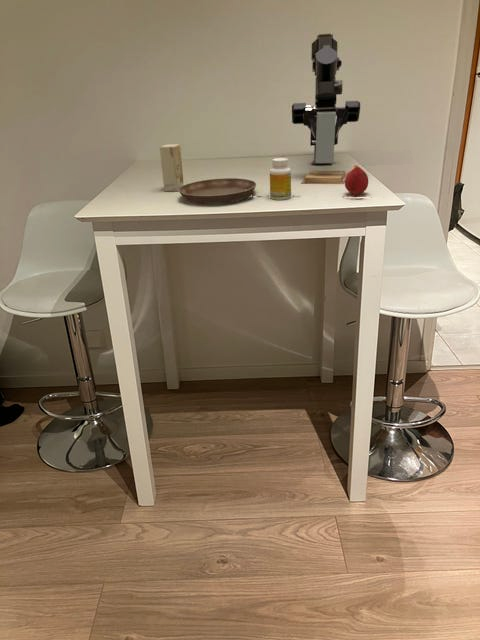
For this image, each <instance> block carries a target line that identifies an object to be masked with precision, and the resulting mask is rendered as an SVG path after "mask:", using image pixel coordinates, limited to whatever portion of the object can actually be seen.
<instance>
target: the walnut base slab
mask: <svg viewBox="0 0 480 640" xmlns="http://www.w3.org/2000/svg"><path fill="white" fill-rule="evenodd" d="M300 185H345V180H342V182H341V183H305V178H304V179H303V180H302V181H301V182H300Z"/></svg>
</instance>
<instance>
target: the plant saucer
mask: <svg viewBox="0 0 480 640" xmlns="http://www.w3.org/2000/svg"><path fill="white" fill-rule="evenodd" d="M256 187H257V182H255V181H254V180H250V179H245V178H233V177H232V178H231V177H230V178H229V177H228V178H214V179H213V178H212V179H204V180H197V181H195V182H190V183H187V184H184V186H182V187H180V188H179V191H178V192H179V194H180V195H181V196H182V197H183V199H185V200H187V202H190V203H192V204H198V205H204V206H205V205H207V206H208V205H211V206H212V205H226V204H227V205H228V204H232V203H237V201H238V202H241V201H242V200H243V201H244V200H245V199H247V198H249V196H250V195H251V194H252V193H253V191H254V190H255V188H256Z"/></svg>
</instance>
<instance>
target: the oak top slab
mask: <svg viewBox="0 0 480 640" xmlns="http://www.w3.org/2000/svg"><path fill="white" fill-rule="evenodd" d="M344 178H345V170H310V171H309V172H308V173H307V174H306V176H305V177H304V179H305V183H341V182H342V181H344V180H343V179H344Z"/></svg>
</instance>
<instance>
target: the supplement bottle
mask: <svg viewBox="0 0 480 640" xmlns="http://www.w3.org/2000/svg"><path fill="white" fill-rule="evenodd" d="M271 165H272V166H273V167H272V168H270V169H269V189H270V190H269V196H270V199H272V200H276V201H284V200H289V199H290V198H291V197H292V169H291V168H290V167H289V166H288V165H289V159H288V158H285V157H276V158H272V160H271Z"/></svg>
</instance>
